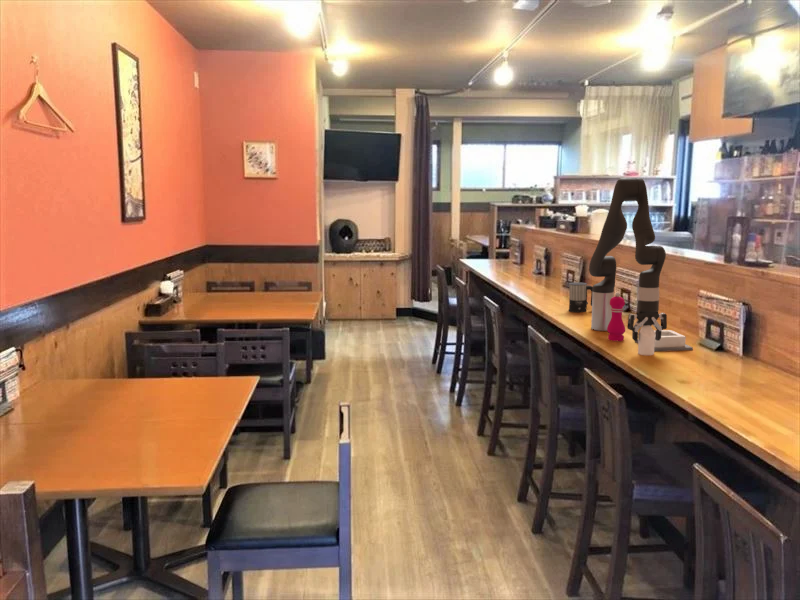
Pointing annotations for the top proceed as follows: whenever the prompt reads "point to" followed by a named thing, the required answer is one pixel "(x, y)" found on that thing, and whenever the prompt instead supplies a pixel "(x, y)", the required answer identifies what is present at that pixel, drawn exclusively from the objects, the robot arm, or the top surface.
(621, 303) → the pepper mill
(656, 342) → the holder
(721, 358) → the top surface
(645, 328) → the white pointed cylinder
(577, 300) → the milk frother
